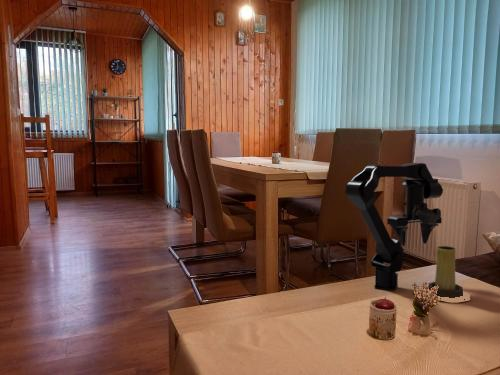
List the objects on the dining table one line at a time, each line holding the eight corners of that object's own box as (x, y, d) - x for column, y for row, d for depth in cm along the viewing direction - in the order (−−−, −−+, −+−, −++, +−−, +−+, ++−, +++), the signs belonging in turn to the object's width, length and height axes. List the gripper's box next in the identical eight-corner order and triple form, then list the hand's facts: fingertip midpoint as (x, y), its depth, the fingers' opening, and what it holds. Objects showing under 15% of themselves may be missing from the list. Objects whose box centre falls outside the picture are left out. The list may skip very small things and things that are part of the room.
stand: (419, 299, 125) (420, 290, 125) (422, 285, 138) (422, 277, 138) (471, 305, 119) (472, 296, 119) (469, 291, 132) (469, 282, 132)
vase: (430, 290, 131) (431, 246, 130) (447, 289, 132) (448, 245, 131) (442, 296, 125) (443, 250, 124) (460, 295, 126) (461, 249, 125)
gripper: (409, 203, 130) (408, 252, 131) (455, 200, 136) (453, 247, 137) (386, 199, 140) (385, 245, 141) (429, 197, 147) (428, 240, 148)
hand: (414, 244), depth 142 cm, fingers open, 9 cm apart
